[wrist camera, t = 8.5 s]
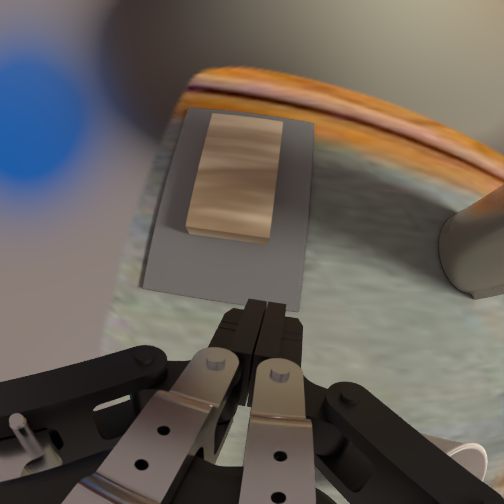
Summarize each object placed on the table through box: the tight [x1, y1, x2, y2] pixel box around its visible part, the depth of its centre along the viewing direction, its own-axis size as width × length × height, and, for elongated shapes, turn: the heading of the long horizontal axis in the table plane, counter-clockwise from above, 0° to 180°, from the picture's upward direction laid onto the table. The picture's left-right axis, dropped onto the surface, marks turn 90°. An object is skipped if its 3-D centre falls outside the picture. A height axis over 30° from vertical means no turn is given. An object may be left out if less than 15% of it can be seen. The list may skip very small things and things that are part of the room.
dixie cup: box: [420, 433, 487, 482], centre depth 19 cm, size 8×8×10 cm
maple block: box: [185, 113, 283, 245], centre depth 28 cm, size 2×7×12 cm
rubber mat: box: [143, 108, 314, 312], centre depth 29 cm, size 20×14×1 cm
